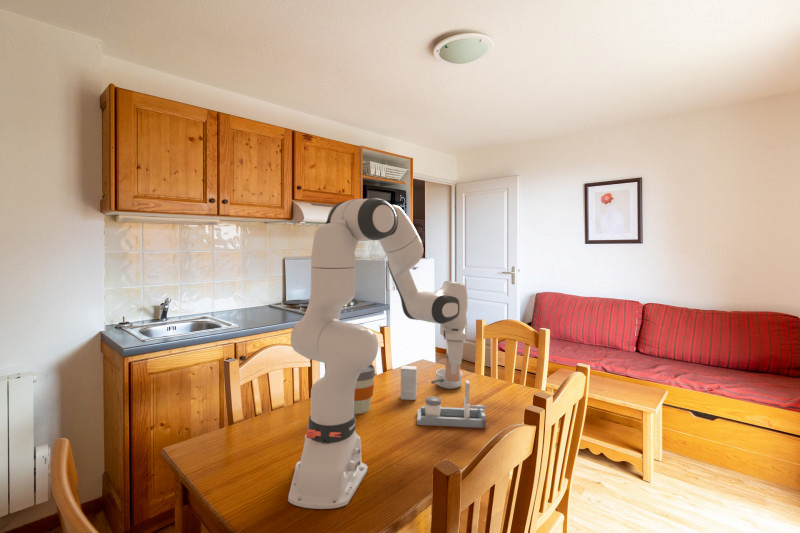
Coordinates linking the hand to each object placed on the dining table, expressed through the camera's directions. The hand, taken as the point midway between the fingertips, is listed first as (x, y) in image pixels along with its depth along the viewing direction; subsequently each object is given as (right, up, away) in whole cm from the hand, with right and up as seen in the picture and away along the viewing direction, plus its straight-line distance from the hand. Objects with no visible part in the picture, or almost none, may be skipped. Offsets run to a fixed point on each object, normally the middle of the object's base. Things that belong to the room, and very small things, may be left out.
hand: (452, 370), depth 129 cm
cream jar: (-7, -17, +1) cm, 18 cm away
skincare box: (-14, -16, +20) cm, 29 cm away
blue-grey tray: (0, -17, +1) cm, 17 cm away
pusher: (+8, -17, 0) cm, 19 cm away
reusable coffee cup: (-33, -17, +9) cm, 38 cm away
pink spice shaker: (0, -3, 0) cm, 3 cm away
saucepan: (+1, -16, +31) cm, 35 cm away
